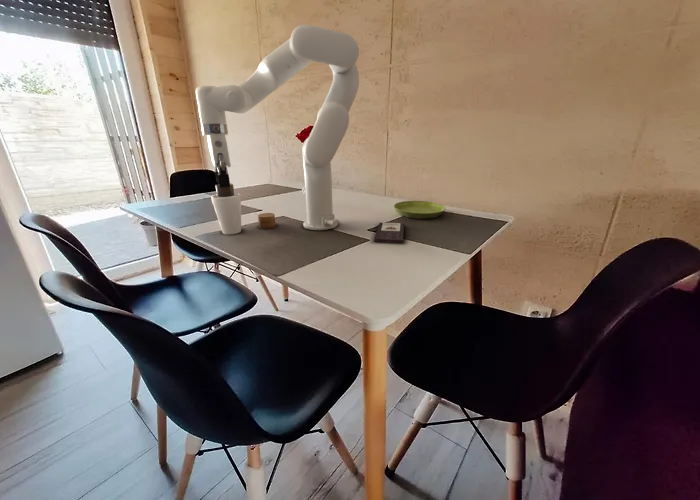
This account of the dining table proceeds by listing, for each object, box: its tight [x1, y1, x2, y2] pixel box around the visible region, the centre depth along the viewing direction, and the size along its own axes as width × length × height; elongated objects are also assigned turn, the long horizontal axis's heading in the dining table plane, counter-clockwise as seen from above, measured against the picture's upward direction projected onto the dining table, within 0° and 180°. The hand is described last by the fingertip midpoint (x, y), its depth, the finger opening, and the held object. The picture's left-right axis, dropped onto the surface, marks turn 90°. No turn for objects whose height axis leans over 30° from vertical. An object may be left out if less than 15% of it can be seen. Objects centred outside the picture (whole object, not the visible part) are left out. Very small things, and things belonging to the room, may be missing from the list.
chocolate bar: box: [373, 222, 405, 244], centre depth 106 cm, size 9×1×18 cm
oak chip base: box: [258, 220, 277, 230], centre depth 116 cm, size 6×6×2 cm
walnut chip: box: [214, 182, 235, 197], centre depth 105 cm, size 6×6×4 cm
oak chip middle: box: [257, 212, 276, 223], centre depth 115 cm, size 6×6×2 cm
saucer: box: [393, 200, 446, 220], centre depth 128 cm, size 21×21×3 cm
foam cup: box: [210, 192, 242, 235], centre depth 109 cm, size 10×9×13 cm
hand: (223, 184), depth 105 cm, fingers open, 9 cm apart
